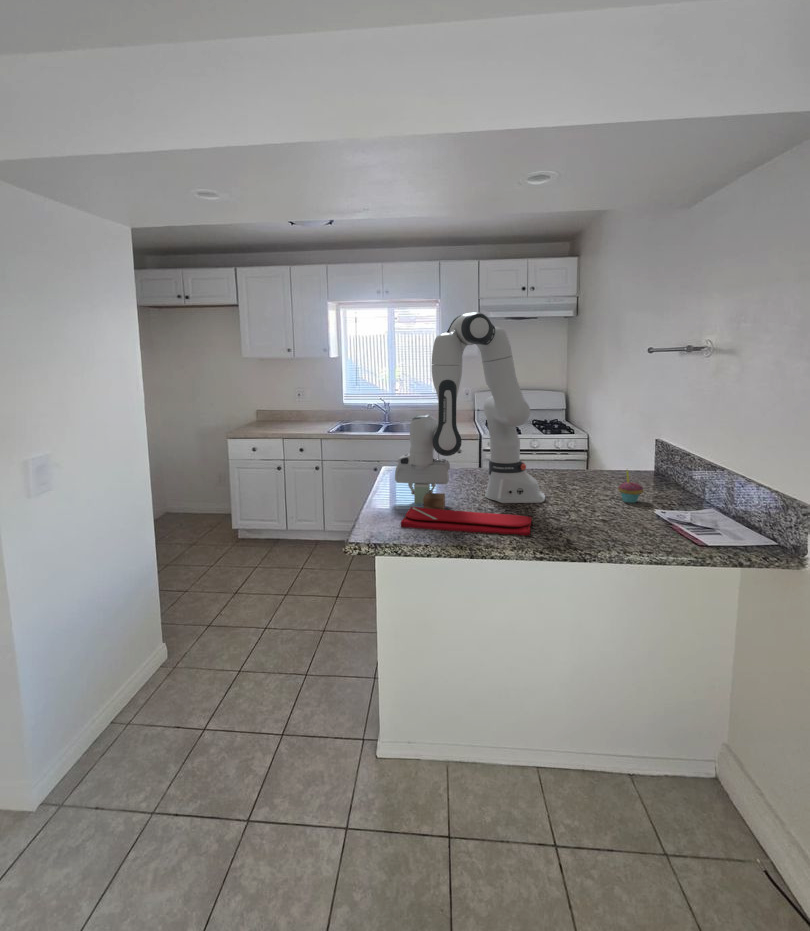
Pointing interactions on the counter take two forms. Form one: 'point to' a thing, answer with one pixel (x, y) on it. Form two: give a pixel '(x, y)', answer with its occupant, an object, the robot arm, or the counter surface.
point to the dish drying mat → (466, 521)
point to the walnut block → (434, 501)
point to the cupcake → (630, 490)
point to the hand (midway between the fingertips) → (422, 494)
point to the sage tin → (420, 492)
